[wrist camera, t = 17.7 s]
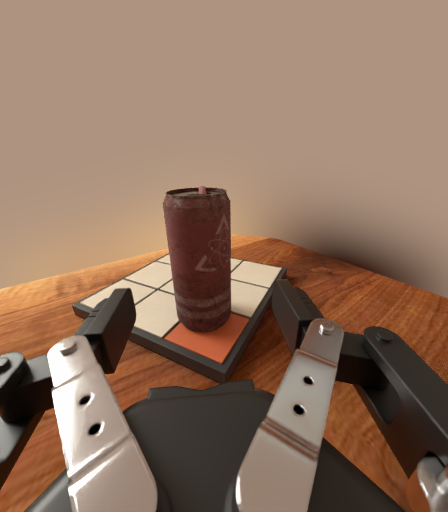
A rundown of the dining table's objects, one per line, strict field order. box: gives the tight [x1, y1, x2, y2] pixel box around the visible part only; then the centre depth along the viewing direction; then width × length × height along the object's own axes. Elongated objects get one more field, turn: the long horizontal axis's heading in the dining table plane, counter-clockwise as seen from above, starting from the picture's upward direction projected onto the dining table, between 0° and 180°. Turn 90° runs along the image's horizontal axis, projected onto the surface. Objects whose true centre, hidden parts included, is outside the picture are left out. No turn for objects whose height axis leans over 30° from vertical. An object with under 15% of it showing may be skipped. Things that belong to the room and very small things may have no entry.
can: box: [163, 186, 231, 332], centre depth 23 cm, size 6×6×14 cm
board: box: [72, 253, 287, 384], centre depth 33 cm, size 22×22×2 cm
